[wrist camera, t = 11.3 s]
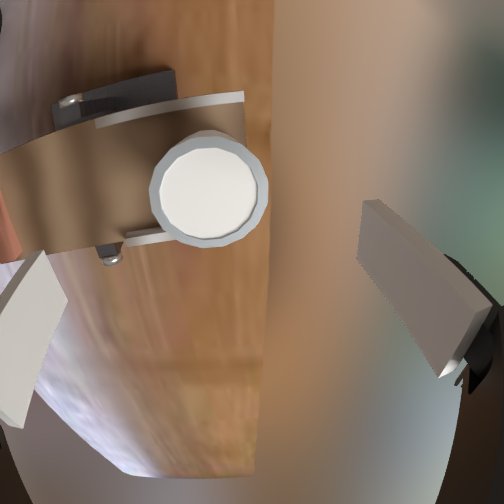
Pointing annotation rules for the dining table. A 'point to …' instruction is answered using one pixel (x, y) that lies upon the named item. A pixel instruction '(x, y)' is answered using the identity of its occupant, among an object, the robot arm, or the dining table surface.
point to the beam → (100, 176)
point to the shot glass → (208, 190)
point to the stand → (113, 101)
